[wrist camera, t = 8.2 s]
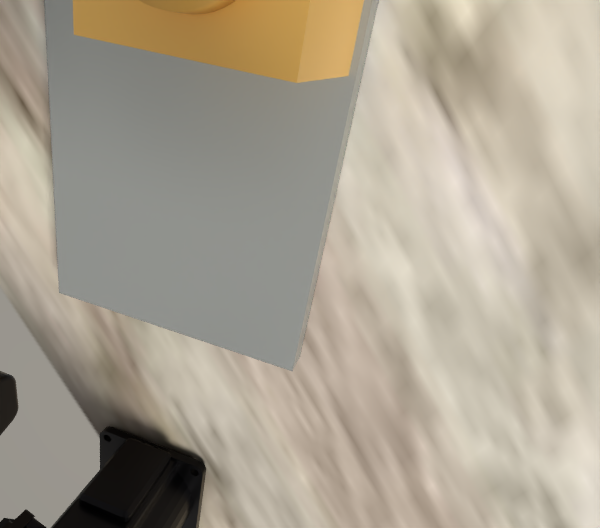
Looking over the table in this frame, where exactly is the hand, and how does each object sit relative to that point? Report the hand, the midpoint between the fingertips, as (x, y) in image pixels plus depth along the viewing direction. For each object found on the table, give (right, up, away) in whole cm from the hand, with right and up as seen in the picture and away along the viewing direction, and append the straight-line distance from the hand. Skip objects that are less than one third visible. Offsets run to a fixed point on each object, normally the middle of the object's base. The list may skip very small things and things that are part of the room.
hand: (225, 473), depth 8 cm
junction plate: (-3, +9, +11) cm, 14 cm away
